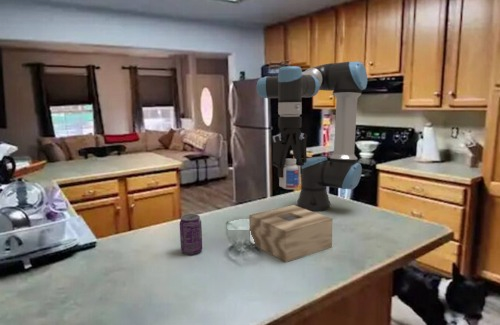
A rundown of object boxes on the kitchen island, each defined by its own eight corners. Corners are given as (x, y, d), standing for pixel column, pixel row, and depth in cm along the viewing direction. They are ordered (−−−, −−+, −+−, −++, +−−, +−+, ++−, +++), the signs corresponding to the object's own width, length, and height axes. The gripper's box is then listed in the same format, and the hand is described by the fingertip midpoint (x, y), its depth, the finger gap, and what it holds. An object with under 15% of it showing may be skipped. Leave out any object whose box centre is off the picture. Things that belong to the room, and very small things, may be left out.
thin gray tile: (278, 222, 124) (278, 219, 124) (291, 219, 127) (291, 215, 127) (289, 226, 119) (289, 223, 119) (302, 223, 122) (302, 220, 122)
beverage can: (194, 245, 125) (192, 212, 123) (206, 251, 120) (205, 216, 118) (176, 251, 120) (174, 217, 118) (189, 257, 115) (187, 222, 113)
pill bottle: (297, 190, 118) (297, 160, 116) (281, 189, 119) (281, 160, 117) (298, 186, 123) (298, 157, 121) (283, 185, 124) (282, 157, 122)
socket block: (249, 242, 127) (249, 214, 126) (293, 230, 138) (293, 204, 136) (286, 262, 111) (286, 231, 109) (331, 246, 122) (332, 218, 120)
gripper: (274, 117, 109) (275, 191, 113) (318, 115, 119) (317, 183, 123) (260, 116, 115) (261, 187, 119) (303, 114, 125) (302, 179, 129)
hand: (289, 185), depth 121 cm, fingers closed on pill bottle, 5 cm apart
